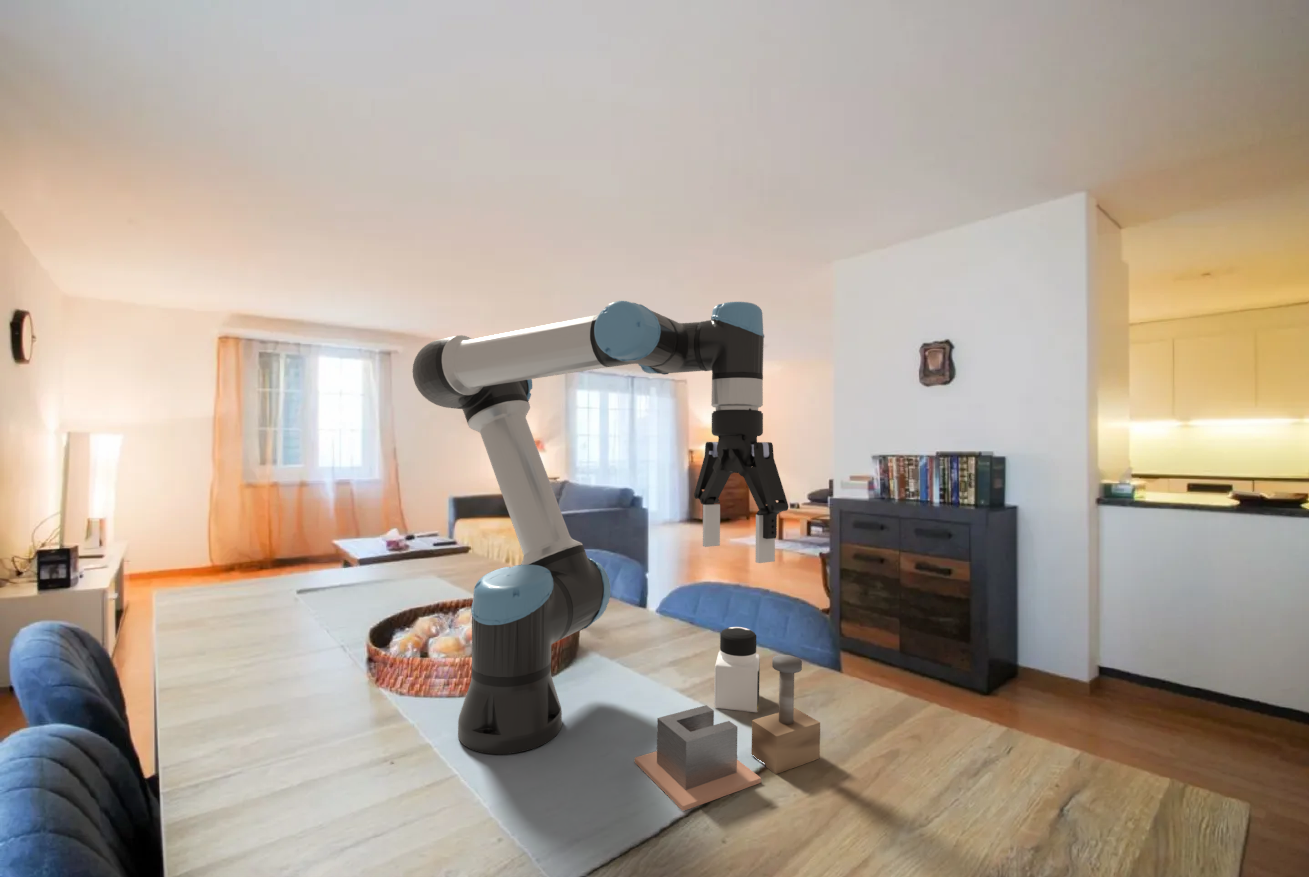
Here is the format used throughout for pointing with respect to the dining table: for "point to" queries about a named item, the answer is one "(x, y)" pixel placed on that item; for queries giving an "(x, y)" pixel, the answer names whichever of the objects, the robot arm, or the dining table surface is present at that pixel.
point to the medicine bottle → (737, 671)
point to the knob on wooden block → (786, 726)
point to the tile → (699, 793)
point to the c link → (696, 747)
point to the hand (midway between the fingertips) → (736, 553)
